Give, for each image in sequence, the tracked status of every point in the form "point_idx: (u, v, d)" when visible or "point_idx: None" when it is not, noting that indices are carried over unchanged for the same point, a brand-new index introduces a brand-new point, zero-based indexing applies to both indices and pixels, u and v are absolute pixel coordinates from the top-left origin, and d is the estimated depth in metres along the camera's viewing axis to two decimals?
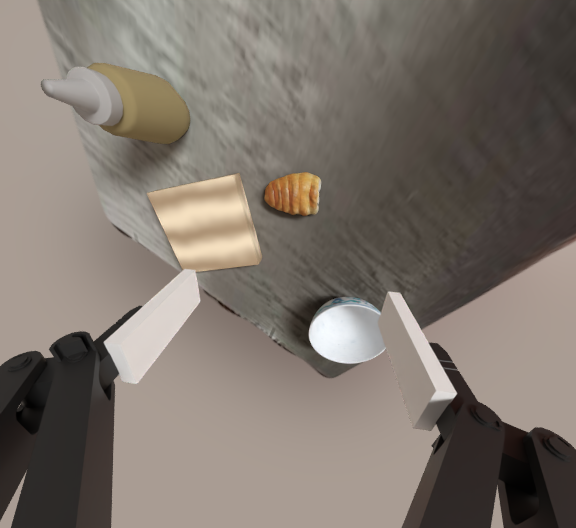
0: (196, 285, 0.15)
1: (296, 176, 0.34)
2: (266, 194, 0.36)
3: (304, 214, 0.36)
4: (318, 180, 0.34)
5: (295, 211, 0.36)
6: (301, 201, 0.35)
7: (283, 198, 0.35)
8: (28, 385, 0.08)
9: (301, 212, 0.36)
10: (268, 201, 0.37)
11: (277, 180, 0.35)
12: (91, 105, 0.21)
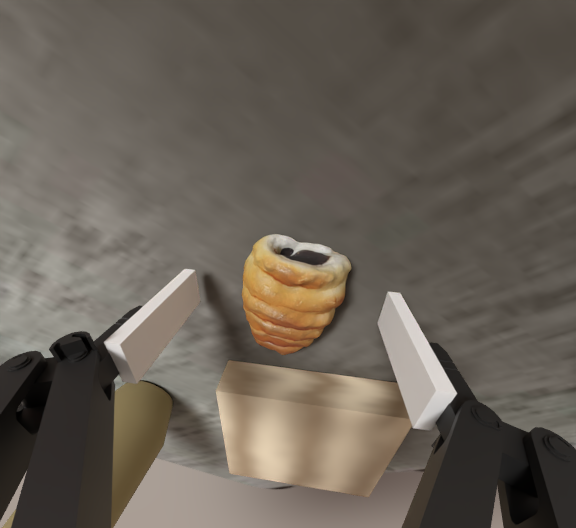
0: (196, 285, 0.15)
1: (245, 292, 0.14)
2: (273, 349, 0.17)
3: (339, 302, 0.13)
4: (262, 247, 0.13)
5: (324, 321, 0.13)
6: (299, 306, 0.13)
7: (283, 335, 0.14)
8: (28, 385, 0.08)
9: (331, 308, 0.13)
10: (287, 353, 0.17)
11: None
12: None
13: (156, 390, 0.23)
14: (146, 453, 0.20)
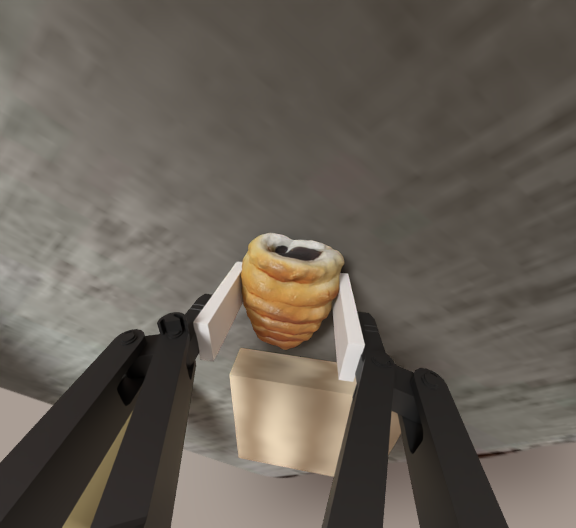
0: None
1: (243, 290, 0.15)
2: None
3: (333, 295, 0.14)
4: (256, 245, 0.13)
5: (320, 314, 0.14)
6: (293, 301, 0.13)
7: (282, 330, 0.15)
8: (130, 361, 0.09)
9: (325, 302, 0.14)
10: (289, 347, 0.17)
11: None
12: None
13: None
14: None
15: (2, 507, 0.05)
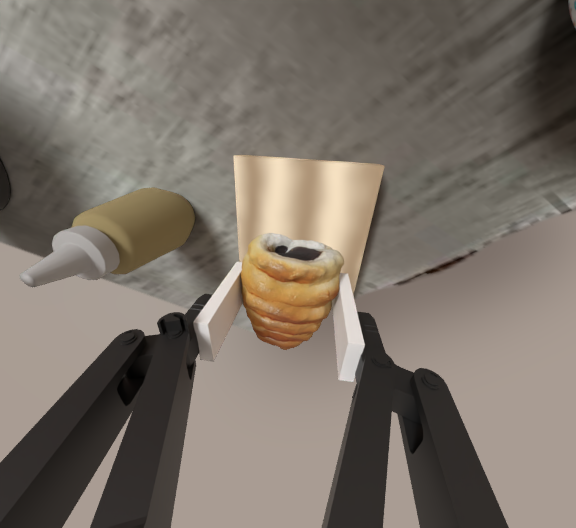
0: None
1: (243, 290, 0.15)
2: None
3: (333, 295, 0.14)
4: (255, 245, 0.13)
5: (320, 314, 0.14)
6: (293, 301, 0.13)
7: (282, 330, 0.15)
8: (130, 361, 0.09)
9: (325, 302, 0.14)
10: (288, 348, 0.17)
11: (251, 320, 0.17)
12: (75, 255, 0.17)
13: (183, 198, 0.29)
14: (178, 220, 0.26)
15: (2, 507, 0.05)
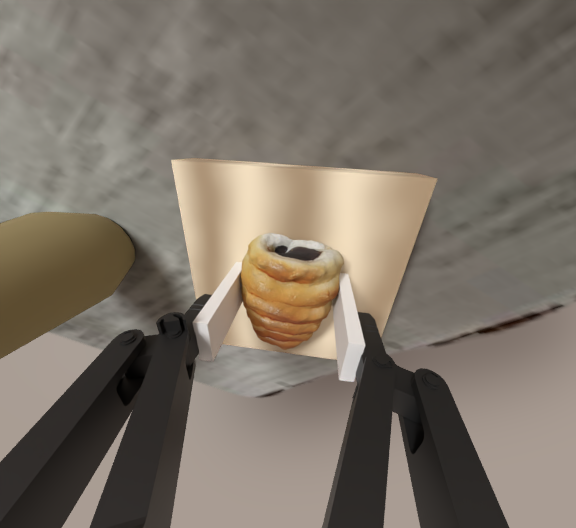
0: None
1: (243, 290, 0.15)
2: None
3: (332, 295, 0.14)
4: (255, 245, 0.13)
5: (320, 315, 0.14)
6: (293, 301, 0.13)
7: (282, 330, 0.15)
8: (129, 361, 0.09)
9: (325, 302, 0.14)
10: (288, 348, 0.17)
11: None
12: None
13: (111, 223, 0.19)
14: (88, 266, 0.16)
15: (1, 507, 0.05)
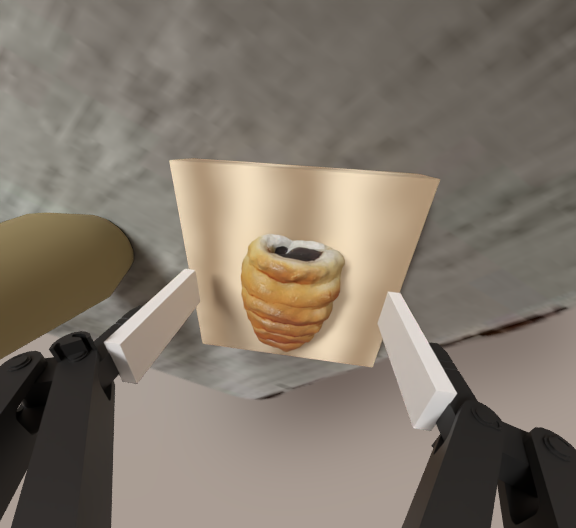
0: (196, 285, 0.15)
1: (243, 292, 0.15)
2: (276, 347, 0.17)
3: (334, 296, 0.13)
4: (255, 246, 0.13)
5: (321, 315, 0.14)
6: (294, 302, 0.13)
7: (283, 332, 0.15)
8: (28, 385, 0.08)
9: (326, 303, 0.14)
10: (290, 350, 0.17)
11: None
12: None
13: (109, 224, 0.19)
14: (85, 267, 0.15)
15: None
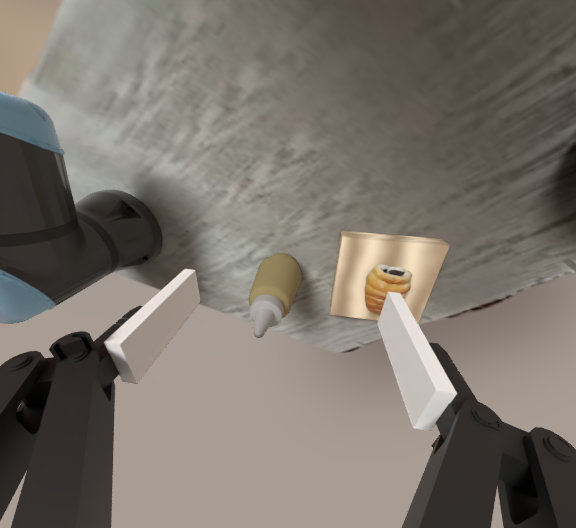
0: (196, 285, 0.15)
1: (368, 288, 0.36)
2: (376, 313, 0.38)
3: (409, 289, 0.34)
4: (378, 270, 0.34)
5: (403, 297, 0.35)
6: (394, 291, 0.34)
7: None
8: (28, 385, 0.08)
9: (406, 291, 0.35)
10: None
11: (366, 301, 0.38)
12: (270, 315, 0.29)
13: (292, 257, 0.41)
14: (299, 278, 0.37)
15: None
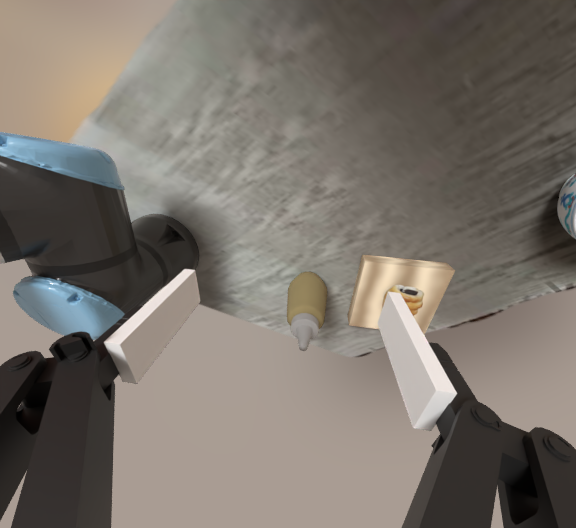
0: (196, 285, 0.15)
1: None
2: None
3: (421, 306, 0.41)
4: (396, 290, 0.41)
5: (416, 312, 0.41)
6: (409, 308, 0.40)
7: None
8: (28, 385, 0.08)
9: (418, 308, 0.41)
10: None
11: None
12: (310, 331, 0.35)
13: None
14: (326, 295, 0.43)
15: None
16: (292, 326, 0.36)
